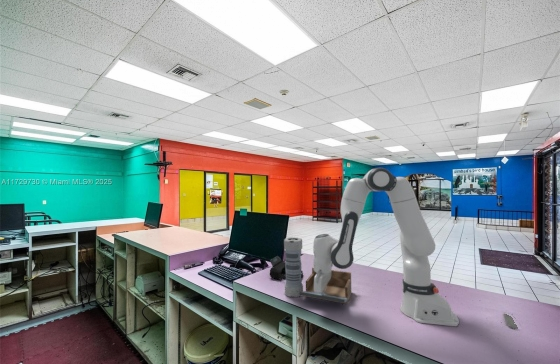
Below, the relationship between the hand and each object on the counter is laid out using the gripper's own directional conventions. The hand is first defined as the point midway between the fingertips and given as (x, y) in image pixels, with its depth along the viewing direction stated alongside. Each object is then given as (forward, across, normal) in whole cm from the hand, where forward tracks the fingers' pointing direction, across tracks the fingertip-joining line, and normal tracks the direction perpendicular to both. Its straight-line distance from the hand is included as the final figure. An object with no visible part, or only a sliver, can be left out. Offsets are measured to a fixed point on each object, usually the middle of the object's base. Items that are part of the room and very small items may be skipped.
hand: (323, 294), depth 121 cm
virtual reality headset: (+6, +28, +31) cm, 42 cm away
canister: (+5, +6, +18) cm, 20 cm away
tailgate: (+2, +5, 0) cm, 5 cm away
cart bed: (+5, +12, 0) cm, 13 cm away
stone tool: (+6, +17, -78) cm, 80 cm away
